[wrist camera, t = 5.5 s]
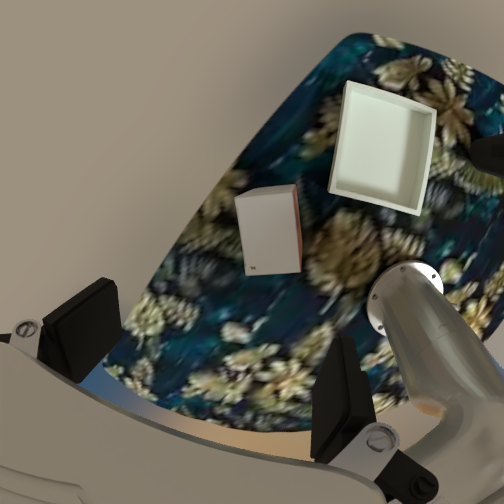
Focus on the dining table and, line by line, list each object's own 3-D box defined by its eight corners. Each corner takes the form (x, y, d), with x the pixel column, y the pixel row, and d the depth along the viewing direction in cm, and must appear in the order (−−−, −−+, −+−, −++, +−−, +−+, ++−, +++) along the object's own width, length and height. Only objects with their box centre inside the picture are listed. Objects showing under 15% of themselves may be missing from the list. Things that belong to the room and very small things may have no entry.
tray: (427, 113, 27) (436, 110, 24) (410, 211, 31) (419, 216, 29) (343, 86, 28) (347, 80, 25) (327, 190, 33) (329, 192, 30)
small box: (302, 243, 36) (302, 275, 26) (261, 246, 37) (245, 278, 27) (296, 182, 33) (294, 190, 24) (253, 187, 35) (232, 197, 25)
